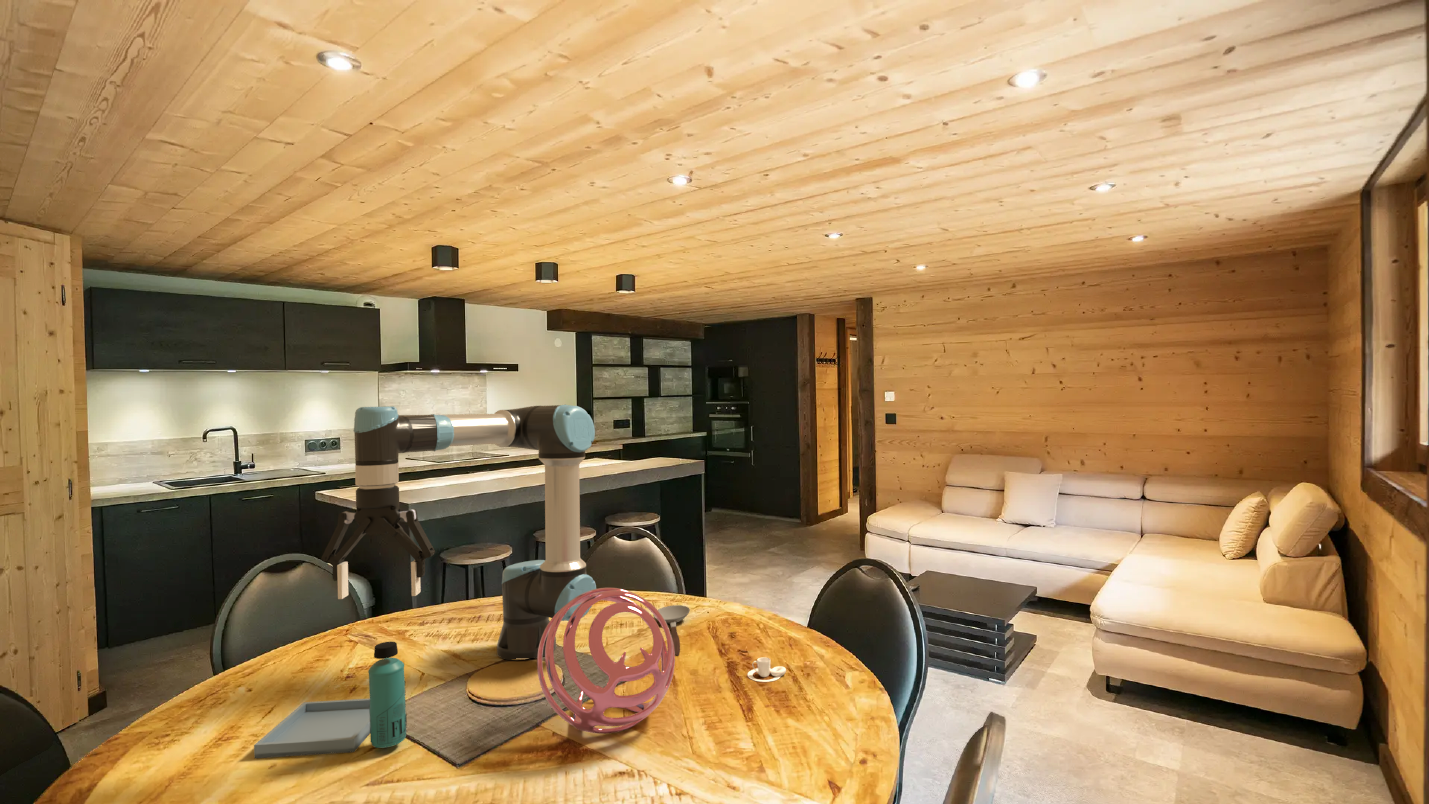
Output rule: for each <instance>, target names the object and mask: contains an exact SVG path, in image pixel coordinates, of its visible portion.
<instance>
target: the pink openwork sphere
mask: <svg viewBox="0 0 1429 804" xmlns="http://www.w3.org/2000/svg"><path fill="white" fill-rule="evenodd" d="M630 599H632V600H630ZM633 600H634V601H637V602H639V603H640V604H642V605H643V606H644V607H646V608H647V609H648V610H649V611H650V612H649V611H648V610H646V609H645V608H643V607H642V606H640V605H639V604H637V603H636V602H634V601H633ZM600 601H608V602H613V603H611V604H609V605H607V606H605V607H604V608H602V609H601V610H600V611H599V612H598V613H597V614H596V616H595V617H594V618H593V621H592V622H591V624H590V627H589V631H588V647H589V648H588V649H589V651H590V654H591V657H592V659H593V661H594V663H595V664H596V665H597V668H599V670H601V672H603V673H604V674H605V675H607V677H608V681H607V683H606V685H605V686H603V687H602V686H601V685H597V684H595V683H593V682H592V681H591V680H590V679H589V678H588V676H587V675H586V674H585V672H584V671H583V669H582V666H581V665H580V663H579V660H578V657H577V652H576V634H577V629H578V626H579V623H580V622H581V619H582V616H583V615H584V613H585V612H586V611H587V610H588V609H589V608H590V607H591V606H593V605H595V604H597V603H598V602H600ZM580 603H581V604H580ZM577 604H580V605H579V606H578V607H577V609H576V610H575V611H574V612H573V614H572V615H571V617H570V619H569V621H567V623H566V626H565V630H564V635H563V641H562V642H563V643H562V644H563V645H562V650H563V651H562V652H563V659H564V662H565V663H564V664H565V666H566V669H567V672H568V673H569V676H570V678H571V679H572V681H573V682H574V685H576V686H577V688H578V689H579V690H580V692H579V694H578V697H577V700H576V701H575V699H574V698H573V697H572V696H571V695H570V693H568V692H567V690H566V688H565V687H564V686H563V683H562V682H561V680H560V677H559V673H558V670H557V667H556V663H555V656H554V655H555V652H554V651H555V650H554V640H555V637H556V634H557V632H558V629H559V626H560V624H561V622H562V621H561V620H562V618H563V617H564V615H565V614H566V613H567V611H568V610H569V609H570V608H571V607H573V606H575V605H577ZM591 608H592V607H591ZM591 608H590V609H591ZM590 609H589V610H590ZM621 613H631V614H635V615H636V616H639V617H640V618H641V619H642V620H643V621H644V623H645V624H646V625H647V626H648V628H649V629H650V631H651V633H652V640H653V643H652V644H653V645H652V649H651V652H650V653H648V652H647V651H646V650H645V649H644V648H643V647H640V648H639V650H640V653H641V654H642V656H643V659H644V661H643V662H642V663H639V664H638V665H635V666H626V665H625V660H626V654H627V651H624V652H623V653H622V655H621V656H620V659H619V660H618V661H617V662H615V661H614V660H613V659H611V657H610V656H609V654H607V652H606V649H605V646H604V645H603V644H604V643H603V631H604V629H605V626H606V624H607V622H608V621H609V620H610V619H611V618H612V617H614V616H615V615H618V614H621ZM650 613H652V614H650ZM653 614H654V615H655V617H656V618H657V619H658V620H657V619H656V618H654V616H653ZM549 620H550V622H549V623H548V625H547V627H546V628H545V630H544V632H543V635H542V637H541V640H540V644H539V648H538V654H537V658H536V670H537V677H538V681H539V685H540V688H541V690H542V693H543V695H544V697H545V699H546V701H547V703H548V705H550V707H551V708H552V710H553V711H554V712H555V713H556V714H557V715H558V716H559V717H560V719H562V720H564V722H566V723H567V724H569V725H570V726H572V727H573V728H575V729H576V730H578V731H581V732H586V733H590V734H591V733H592V734H597V735H598V734H599V735H607V734H609V735H610V734H615V733H620V732H623V731H626V730H628V729H629V730H630V729H631V728H633V727H635V726H637V725H638V724H640V723H641V722H642V721H643V720H645V719H646V718H648V716H650V714H652V713H653V712H654V711H655V709H656V708H657V707H658V706H660V704H661V703H662V701H663V699H664V698H665V696H666V694H667V692H668V690H669V688H670V686H671V683H672V680H673V677H674V673H675V665H676V664H675V663H676V655H675V651H674V644H673V640H672V636H671V631H670V630H671V629H670V628H669V625H668V624H667V623H666V621H665V620H664V618H663V616H662V615H661V614H660V612H659V611H658V608H657V607H655V606H654V604H652V603H651V602H650V601H648V600H647V599H645V598H644V597H643V596H640V595H639V594H636V593H634V592H632V591H629V590H626V589H622V588H619V587H618V588H617V587H600V588H596V589H594V590H590V591H587V592H585V593H583V594H581V595H579V596H577V597H575V598H574V599H572V600H571V601H570V602H569V603H567V604H566V605H565V606H564V607H562V608H561V609H560V610H559V611H558V612H557V613H556V614H555V615H554V616H553V618H550V619H549ZM656 620H657V621H658V622H657V621H656ZM658 623H659V624H660V626H661V627H662V629H663V631H664V634H665V638H666V639H665V638H664V636H663V634H662V632H661V629H660V626H659V624H658ZM548 632H549V633H548ZM547 634H548V636H547ZM546 637H547V641H546V648H545V656H544V657H545V658H544V662H545V668H546V673H547V677H548V680H549V682H550V684H551V687H552V689H553V691H554V692H555V694H556V696H557V698H558V699H559V700H560V702H562V704H563V705H564V706H565V707H566V708H567V709H568V710H569V711H570V712H571V713H573V715H572V717H571V716H570V715H569V714H568V713H566V712H565V711H564V710H563V709H562V708H561V706H559V705H558V703H557V701H555V699H554V697H553V696H552V694H551V692H550V690H549V688H548V686H547V682H546V679H545V674H544V669H543V656H542V654H543V647H544V643H545V640H546ZM665 641H666V642H665ZM660 661H661V670H660V668H659V662H660ZM650 674H652V677H653V678H654V679H653V683H652V685H650V686H649V687H648V688H646V689H644V690H643V691H641V692H638V693H634V694H629V695H619V694H616V693H615V691H616V687H617V684H618V683H620V682H633V681H638V680H641V679H643V678H645V677H646V676H649V675H650ZM584 694H585V696H587V697H588V698H589V699H590V700H591V701H592V703H593V706H592V707H591V708H586V707H584V706H583V699H584V698H583V697H584ZM652 698H653V699H652ZM650 699H652V700H651V701H649V700H650ZM647 701H649V702H647ZM611 708H613V709H615V708H617V709H625V710H628V711H631V712H634V714H631V715H628V716H622V717H609V716H607V715H606V716H605V714H604V713H605V711H606V710H608V709H611ZM598 726H599V727H600V726H601V727H609V728H599V727H598ZM610 727H611V728H610Z"/></svg>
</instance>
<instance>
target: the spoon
mask: <svg viewBox="0 0 1429 804" xmlns="http://www.w3.org/2000/svg"><path fill="white" fill-rule="evenodd" d="M657 610H658V611H659V612H660V614H661V615H662V616H663V618H664V620H665V621H666V623H667V625H668V624H669V625H670V630H671V631H670V633H671V636H672V640H673V644H674V651H675V657H678V656H680V653H681V651H680V650H681V642H680V637H679V634H678V631H677V630H678V629H677V623H679V622H681V621H683V620H684V619H685V618H686V617H687V616H688V615H689V614H690V611H691V609H690V608H689V607H688V606H686V605H680V604H678V605H677V604H673V605H668V606H664V607H661V608H657ZM652 617H653V618H654V619H655V620H657V621H658V619H657V618H656V617H655V615H654V614H653V613H652Z"/></svg>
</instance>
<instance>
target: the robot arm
mask: <svg viewBox="0 0 1429 804" xmlns="http://www.w3.org/2000/svg"><path fill="white" fill-rule="evenodd" d="M353 421H354V423H353V424H354V425H353V433H354V459H355V462H354V463H355V465H354V466H355V470H354V471H355V472H354V473H355V481H354V483H355V485H356V487H357V489H356V490H355V506H356V512H350V511H349V510H346V511H343V512H341V513H339V514H338V518H337V525H336V527H335V529H334V531H333V533H332V535H331V538H330V540H329V542H328V544H327V546H326V547H325V550H324V552H323V553H322V556H321V559H320V560H321V561H322V562H324V563H325V562H327V563H330V564H331V567H332V580H333V581H334V582H335V581H336V582H337V599H338V600H343V599H345V598H346V597H348V596H349V564H348V563H349V562H348V561H345V558H347V556H349V554H350V553H351V552H352V550H353V549H354V548H355V547H356V546H357V544H358V543H359V542H360V541H361V540H362V538H363V537H364V536H365V535H367V536H374V535H379V536H380V535H382V536H383V535H387V534H389V535H390V536H391V537H393V538H394V539H395V540H397V542H398V543H399V544H400V545H401V546H402V548H403V549H404V550H406V552H407V553H408V554H409V555H410V556H411V558H413V559H414V560H412V561H411V562H410V572H411V573H410V577H411V579H410V580H411V584H410V585H411V597H416V596H418V595H419V594H420V593H421V590H422V589H421V588H422V587H421V578H423V577H424V576H425V575H426V559H428V558H430V557H432V556H434V555H435V553H436V550H435V548H434V547H433V545H432V543H431V542H430V539H429V538H428V535H427V533H425V530H424V528H423V526H422V525H421V523H420V522H419V517H418V511H417V509H415V508H412V509H408V510H403V511H401V508H400V487H399V486H398V485H396V484H398V483H399V482H400V481H399V479H400V478H399V475H400V473H399V471H400V470H399V455H400V454H406V453H420V452H423V453H424V452H436V451H442V450H446V449H448V448H450V447H462V446H463V447H464V446H465V447H466V446H481V445H496V446H497V447H499V448H517V449H526V450H534V451H538V460H539V461H540V462H541V463H542V464H543V465H544V497H545V498H544V500H545V501H544V509H545V510H544V512H545V513H544V517H545V518H544V520H545V521H544V523H545V524H544V525H545V533H544V534H545V537H544V538H545V560H544V559H535V560H528V561H523V562H522V561H521V562H516V563H514V564H510V565H507V566H506V567H505V568H504V569H503V571H502V578H501V592H502V595H501V596H502V598H501V599H502V616H503V617H502V618H503V619H502V620H503V621H502V622H503V623H502V625H501V626H502V627H501V630H500V634H499V636H498V640H497V643H496V655H497V656H498V657H499V658H501V659H503V660H507V661H511V660H510V659H516V658H535V659H537V654H538V648H539V644H540V640H541V637H542V635H543V632H544V630H545V628H546V627H547V625H548V623H549V622H550V620H551V619H552V618H553V616H554V615H555V614H556V613H557V612H558V611H559V610H560V609H561V608H562V607H564V606H565V605H566V604H567V603H569V602H570V601H571V600H572V599H574V598H575V597H577V596H579V595H581V594H583V593H585V592H587V591H590V590H594V589H597V585H596V581H595V580H594V579H593V577H592V576H590V575H589V574H587V562H585V560H583V559H582V558H581V531H580V530H581V522H580V521H581V519H580V518H581V516H580V515H581V513H580V512H581V510H580V509H581V508H580V507H581V506H580V503H581V502H580V501H581V498H580V496H581V495H580V494H581V493H580V492H581V491H580V464H581V463H582V462H583V461H584V460H585V458H586V451H587V450H589V449H590V448H591V446H593V444H592V443H594V440H595V433H596V430H595V424H594V421H593V419H592V417H591V415H590V414H588V412H587V411H586V410H585V409H584V408H582V407H580V406H578V405H570V404H560V405H559V404H558V405H533V406H524V407H519V408H512V409H499V410H496V411H495V412H494V413H469V414H467V413H464V414H460V413H459V414H455V413H454V414H448V413H447V414H435V413H432V414H431V413H430V414H404V415H402V414H401V415H399V412H398V408H397V407H395V406H388V405H387V406H359V407H358V408H357V409H356V410H355V413H354V420H353ZM401 519H403V521H404V522H405V523H407V526H408V527H409V528H408V529H410V530H409V531H410V532H411V533H412V535H413V537H414V539H415V540H416V542H417V543H416V542H415V541H414V540H413V539H412V538H411V536H410V535H408V534H407V533H406V531H405V530H404V528H403V527H402V525H400V523H399V521H400V520H401ZM353 520H354V521H355V522H356V523H357V525H358V527H357V528H356V529H355V530H354V531H353V534H352V535H351V536H350V537H349V539H348V540H347V541H346V542H345V543H344V545H342V547H341V548H340V549H339V546H340V545H341V543H342V541H343V538H344V537H345V534H346V533H347V531H348V529H349V526H350V524H352V522H353ZM338 549H339V551H338V552H337V550H338ZM580 604H581V603H580ZM580 604H577V605H575V606H573V607H571V608H570V609H569V610H568V611H567V613H566V614H565V615H564V617H563V618H562V620H561V622H562V621H563V622H564V621H565V622H568V621H569V619H570V617H571V615H572V614H573V612H574V611H575V610H576V609H577V607H578V606H579V605H580ZM592 606H593V605H592ZM592 606H591V607H590V608H589V609H588V610H587V611H586V612H585V613H584V615H583V616H582V618H584V617H585V616H586V615H587V614H588V613H589V612H590V609H591V608H592ZM582 618H581V619H582ZM548 633H549V632H548ZM547 636H548V634H547ZM546 641H547V637H546V640H545V643H544V647H543V654H542V657H545V648H546ZM556 648H557V637H556V636H555V640H554V651H555V650H556Z"/></svg>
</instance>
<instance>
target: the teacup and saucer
mask: <svg viewBox="0 0 1429 804" xmlns="http://www.w3.org/2000/svg"><path fill="white" fill-rule="evenodd" d="M755 663H756V664H757V667H756V668H755V666H754V664H755ZM751 665H752V668H753V669H751V670H750V671H748V672H747V677H748V678H749V679H750V680H752V681H755V682H758V683H771V682H775V681H778V680H779V679H780V678H781V677H782V676H784V675H785V674H786V672H787V669H786V667H784V666H783V665H782V666H779V665H778V666H774V667H773V668H771V658H770V657H766V656H764V657H759V658H757V659H756V660H754V661H753V662H752V664H751ZM754 673H757V674H758V676H759V677H762V678H768V677H769V675H771V676H773V678H771V679H758V678H755V677H754V676H753V675H754Z"/></svg>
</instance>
